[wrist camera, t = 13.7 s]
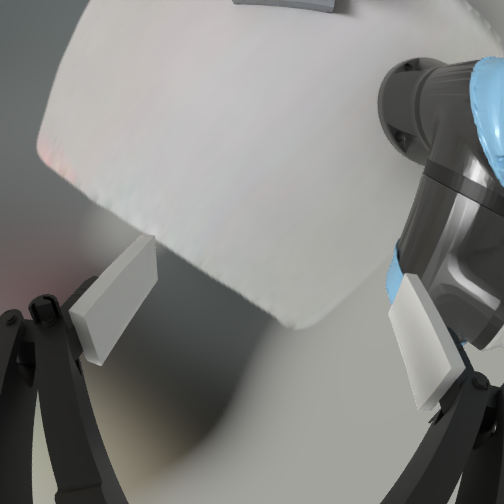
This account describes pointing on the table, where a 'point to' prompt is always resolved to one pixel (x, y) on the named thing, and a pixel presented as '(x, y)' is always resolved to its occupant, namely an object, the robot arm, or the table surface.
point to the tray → (294, 4)
